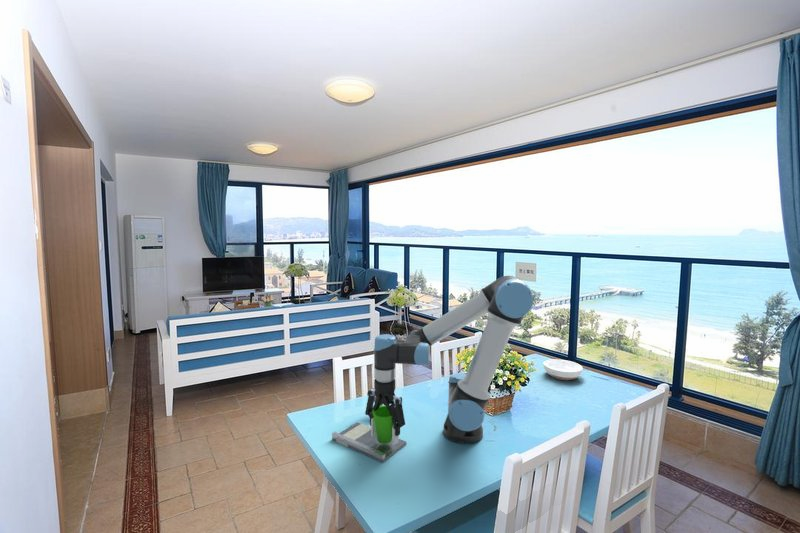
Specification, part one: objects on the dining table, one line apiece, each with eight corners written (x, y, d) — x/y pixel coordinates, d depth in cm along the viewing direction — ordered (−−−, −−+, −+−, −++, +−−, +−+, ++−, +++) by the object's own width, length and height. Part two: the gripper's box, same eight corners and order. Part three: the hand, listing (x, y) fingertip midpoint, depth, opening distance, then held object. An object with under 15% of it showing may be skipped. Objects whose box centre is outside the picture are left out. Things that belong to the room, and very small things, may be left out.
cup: (367, 443, 138) (367, 414, 137) (378, 431, 146) (378, 403, 145) (391, 449, 135) (391, 419, 134) (400, 436, 143) (401, 407, 142)
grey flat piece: (406, 444, 143) (406, 437, 142) (382, 462, 131) (382, 455, 131) (357, 424, 157) (357, 418, 156) (332, 439, 145) (332, 433, 145)
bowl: (546, 382, 202) (547, 370, 201) (539, 368, 221) (540, 358, 220) (587, 384, 199) (587, 373, 198) (576, 371, 218) (576, 360, 217)
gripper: (416, 382, 135) (415, 444, 137) (368, 368, 148) (368, 425, 150) (403, 389, 129) (403, 454, 131) (354, 374, 142) (355, 433, 144)
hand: (384, 438), depth 141 cm, fingers closed on cup, 9 cm apart
